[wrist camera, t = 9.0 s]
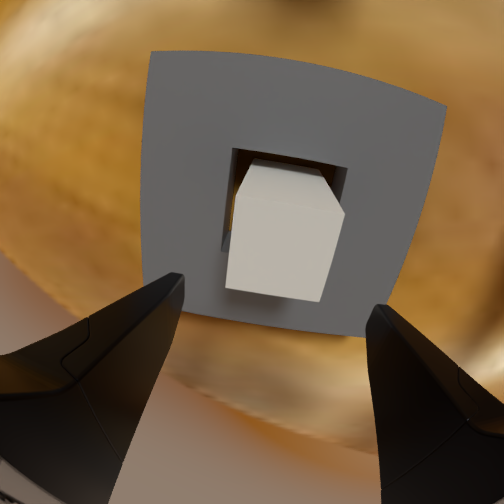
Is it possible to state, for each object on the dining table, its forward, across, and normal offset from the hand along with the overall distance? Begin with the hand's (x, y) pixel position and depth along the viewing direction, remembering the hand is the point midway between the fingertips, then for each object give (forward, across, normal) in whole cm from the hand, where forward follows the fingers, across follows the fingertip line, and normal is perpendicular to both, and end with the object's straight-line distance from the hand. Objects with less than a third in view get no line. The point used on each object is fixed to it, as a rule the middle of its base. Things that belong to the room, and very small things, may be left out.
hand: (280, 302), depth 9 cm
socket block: (+11, 0, 0) cm, 11 cm away
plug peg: (+11, 0, 0) cm, 11 cm away
